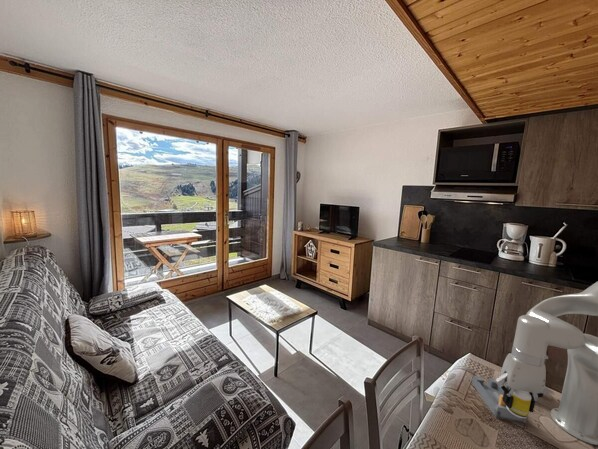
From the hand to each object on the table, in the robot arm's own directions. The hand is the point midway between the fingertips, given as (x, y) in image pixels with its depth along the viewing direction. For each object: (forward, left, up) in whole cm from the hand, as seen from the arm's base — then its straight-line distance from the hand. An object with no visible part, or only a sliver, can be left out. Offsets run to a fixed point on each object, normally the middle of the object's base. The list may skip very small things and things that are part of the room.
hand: (517, 406), depth 81 cm
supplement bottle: (0, 0, -2) cm, 2 cm away
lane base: (0, -10, -7) cm, 12 cm away
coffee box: (-11, -19, -7) cm, 23 cm away
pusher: (0, -7, -6) cm, 10 cm away
